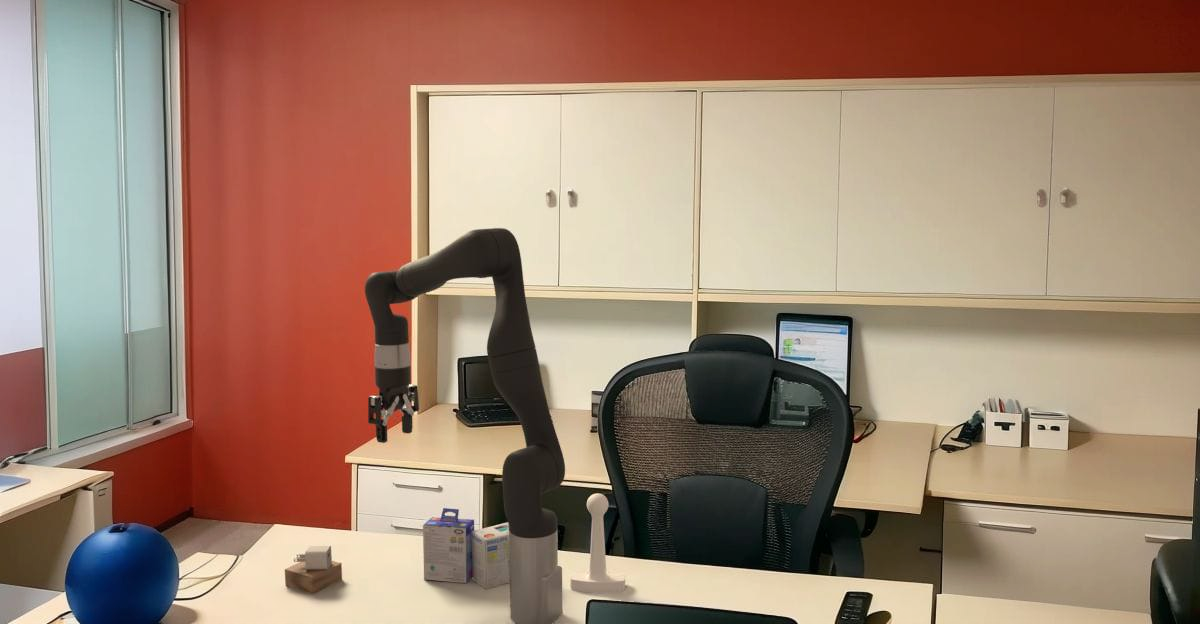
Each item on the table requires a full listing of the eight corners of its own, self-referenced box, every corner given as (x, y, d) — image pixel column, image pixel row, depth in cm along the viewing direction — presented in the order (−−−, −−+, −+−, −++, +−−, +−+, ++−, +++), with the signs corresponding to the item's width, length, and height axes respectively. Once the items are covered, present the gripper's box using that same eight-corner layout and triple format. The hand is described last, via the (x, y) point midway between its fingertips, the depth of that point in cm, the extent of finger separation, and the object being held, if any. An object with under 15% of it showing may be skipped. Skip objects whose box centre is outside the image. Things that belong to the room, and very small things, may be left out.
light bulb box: (514, 567, 199) (513, 519, 198) (530, 577, 194) (530, 528, 192) (470, 579, 193) (469, 530, 192) (486, 590, 188) (485, 539, 186)
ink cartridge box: (476, 573, 196) (475, 508, 194) (467, 584, 190) (466, 517, 189) (433, 569, 198) (431, 505, 196) (423, 580, 192) (421, 514, 191)
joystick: (569, 591, 187) (569, 497, 184) (573, 576, 194) (573, 485, 192) (624, 593, 186) (624, 498, 183) (626, 577, 193) (626, 486, 191)
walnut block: (342, 581, 193) (341, 563, 193) (313, 595, 186) (312, 577, 186) (315, 573, 197) (314, 555, 196) (285, 587, 190) (284, 569, 190)
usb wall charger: (326, 570, 189) (326, 552, 188) (292, 571, 188) (292, 552, 188) (331, 563, 193) (331, 544, 192) (298, 563, 192) (297, 545, 192)
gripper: (385, 371, 189) (387, 447, 191) (427, 359, 201) (429, 431, 203) (356, 368, 192) (359, 443, 194) (399, 357, 205) (401, 428, 207)
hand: (395, 437), depth 199 cm, fingers open, 8 cm apart
